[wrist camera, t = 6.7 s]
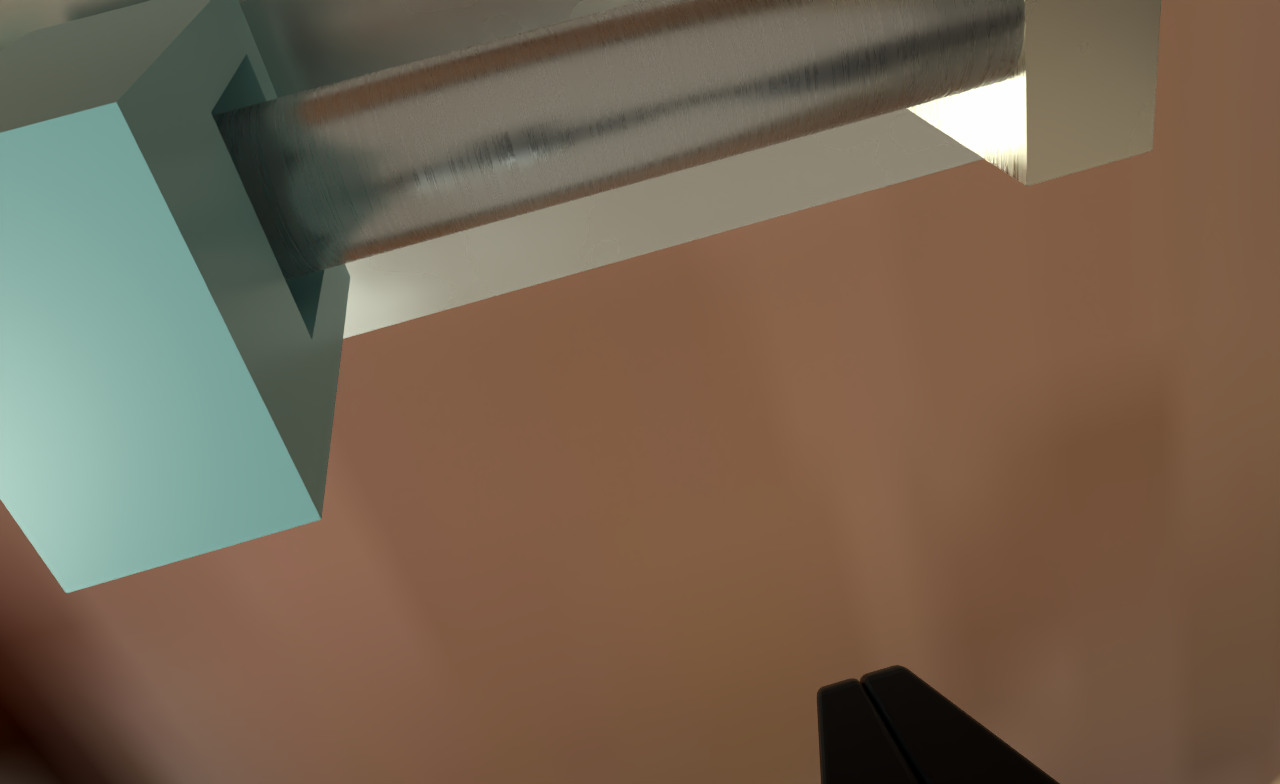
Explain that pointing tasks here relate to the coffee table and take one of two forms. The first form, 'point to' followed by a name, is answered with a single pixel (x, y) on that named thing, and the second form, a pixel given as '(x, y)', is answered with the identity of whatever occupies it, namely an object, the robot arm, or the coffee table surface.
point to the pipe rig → (638, 122)
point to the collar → (150, 302)
